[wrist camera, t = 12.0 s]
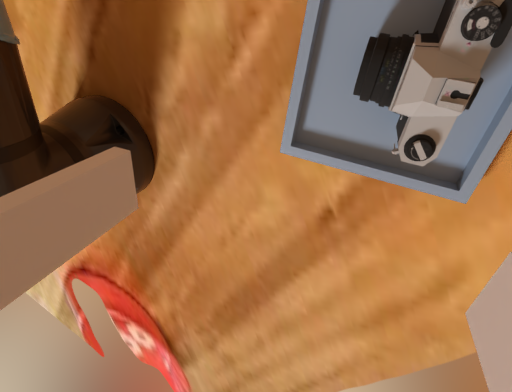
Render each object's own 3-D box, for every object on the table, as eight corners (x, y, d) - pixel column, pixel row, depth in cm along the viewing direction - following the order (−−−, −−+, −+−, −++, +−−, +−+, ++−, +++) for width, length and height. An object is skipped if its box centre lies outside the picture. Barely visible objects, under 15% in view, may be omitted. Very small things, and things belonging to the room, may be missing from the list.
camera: (388, -39, 22) (381, -56, 15) (508, -35, 20) (563, -53, 13) (348, 124, 30) (331, 162, 23) (432, 140, 27) (440, 187, 21)
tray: (286, 145, 33) (279, 152, 31) (326, -63, 23) (321, -72, 22) (460, 192, 28) (465, 203, 27) (598, -43, 19) (622, -51, 17)
